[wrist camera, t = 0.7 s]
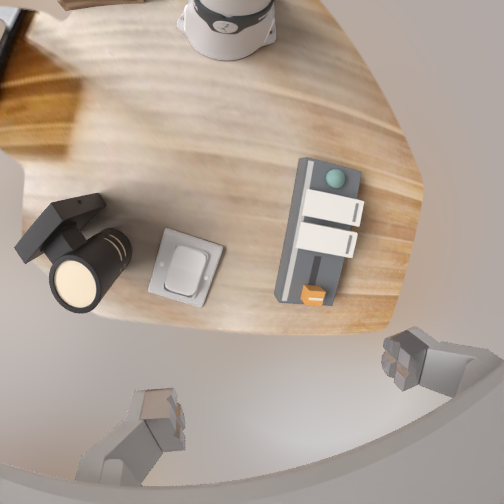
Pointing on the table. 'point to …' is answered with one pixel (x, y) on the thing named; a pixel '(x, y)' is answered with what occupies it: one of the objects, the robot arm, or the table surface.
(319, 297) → the slider knob
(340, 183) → the button
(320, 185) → the panel
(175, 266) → the light switch
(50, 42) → the table surface
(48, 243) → the light fixture
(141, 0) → the frame
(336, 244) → the panel
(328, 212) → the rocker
